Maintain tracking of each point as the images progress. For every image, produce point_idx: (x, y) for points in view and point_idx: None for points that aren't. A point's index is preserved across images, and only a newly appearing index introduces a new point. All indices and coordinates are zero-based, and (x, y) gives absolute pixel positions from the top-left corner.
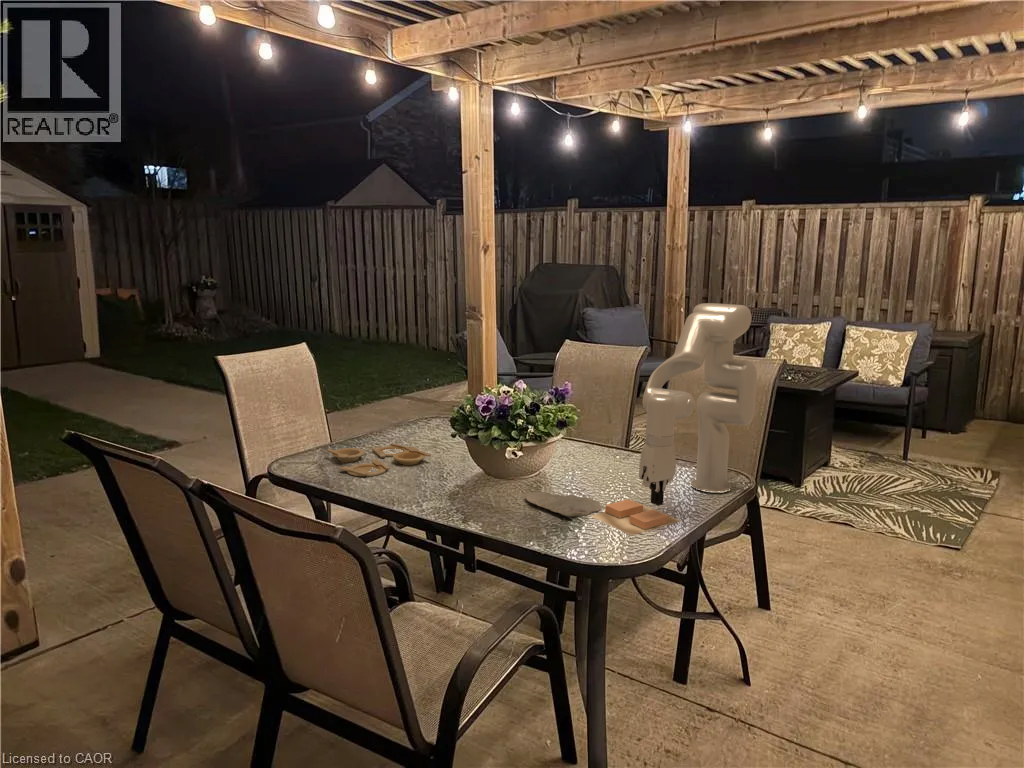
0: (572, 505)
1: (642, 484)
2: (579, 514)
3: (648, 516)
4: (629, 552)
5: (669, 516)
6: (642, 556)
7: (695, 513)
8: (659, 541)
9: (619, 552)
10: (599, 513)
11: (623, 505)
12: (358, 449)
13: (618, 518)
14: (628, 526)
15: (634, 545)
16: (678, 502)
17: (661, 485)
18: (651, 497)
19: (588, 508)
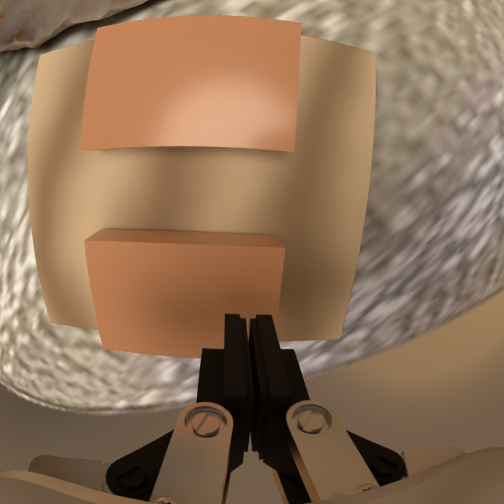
0: None
1: (32, 464)
2: (6, 50)
3: (168, 311)
4: (22, 363)
5: (347, 278)
6: (43, 393)
7: (454, 279)
8: (131, 381)
9: (2, 345)
10: (87, 42)
11: (176, 77)
12: None
13: None
14: (80, 253)
15: (46, 349)
16: (496, 166)
17: (295, 477)
18: (200, 366)
19: (61, 7)
